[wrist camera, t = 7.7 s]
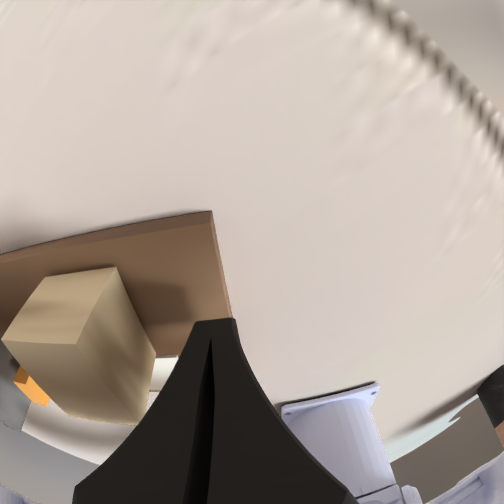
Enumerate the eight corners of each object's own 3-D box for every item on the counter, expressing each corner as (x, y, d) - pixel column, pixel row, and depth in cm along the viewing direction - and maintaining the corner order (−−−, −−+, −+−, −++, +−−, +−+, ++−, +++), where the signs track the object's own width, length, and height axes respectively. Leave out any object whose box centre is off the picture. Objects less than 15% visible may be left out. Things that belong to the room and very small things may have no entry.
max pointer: (55, 383, 13) (47, 406, 11) (42, 381, 13) (33, 402, 11) (36, 361, 12) (25, 384, 10) (23, 359, 12) (12, 381, 10)
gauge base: (244, 370, 15) (253, 465, 10) (29, 367, 15) (5, 425, 9) (211, 210, 10) (198, 330, 5) (-35, 265, 10) (-83, 321, 4)
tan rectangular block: (172, 382, 13) (166, 447, 10) (111, 382, 13) (97, 439, 10) (116, 266, 9) (75, 344, 6) (45, 277, 9) (0, 339, 6)
